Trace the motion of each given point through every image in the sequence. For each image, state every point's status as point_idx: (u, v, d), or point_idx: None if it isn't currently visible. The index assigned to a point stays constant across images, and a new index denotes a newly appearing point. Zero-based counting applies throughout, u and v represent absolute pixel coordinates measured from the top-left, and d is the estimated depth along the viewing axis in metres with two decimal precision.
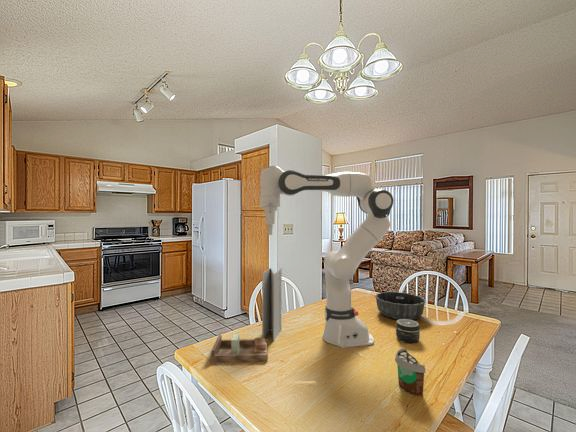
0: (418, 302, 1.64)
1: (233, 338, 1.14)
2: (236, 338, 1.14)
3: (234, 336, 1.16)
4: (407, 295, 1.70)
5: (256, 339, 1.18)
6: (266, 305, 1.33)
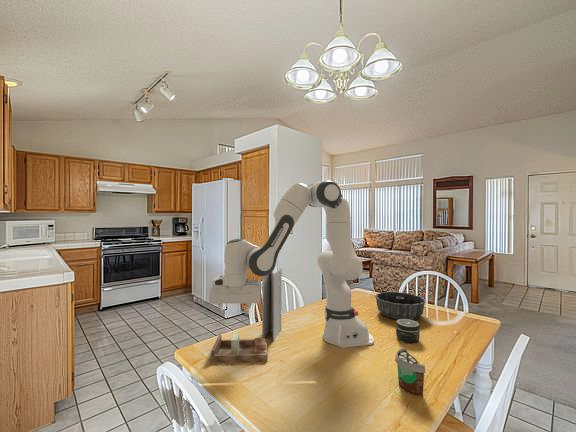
0: (418, 302, 1.64)
1: (233, 338, 1.14)
2: (236, 338, 1.14)
3: (234, 336, 1.16)
4: (407, 295, 1.70)
5: (256, 339, 1.18)
6: (266, 305, 1.33)
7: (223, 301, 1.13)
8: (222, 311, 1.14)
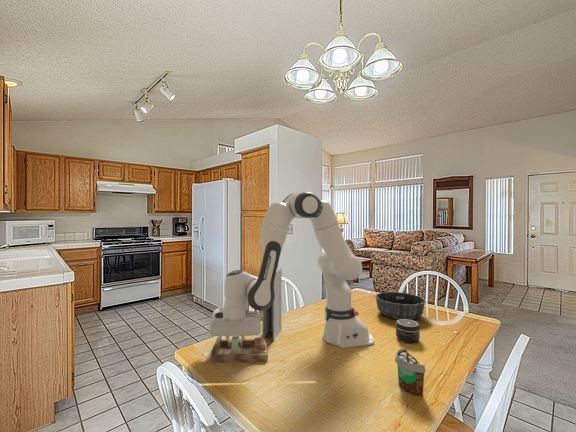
0: (418, 302, 1.64)
1: (233, 338, 1.14)
2: (236, 338, 1.14)
3: (234, 336, 1.16)
4: (407, 295, 1.70)
5: (256, 339, 1.18)
6: None
7: (223, 334, 1.13)
8: (230, 343, 1.14)
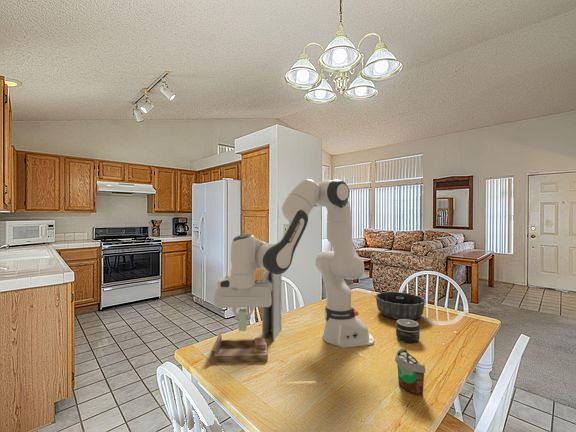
0: (418, 302, 1.64)
1: (241, 310, 1.01)
2: (244, 310, 1.01)
3: (242, 308, 1.03)
4: (407, 295, 1.70)
5: (256, 339, 1.18)
6: None
7: (230, 305, 1.00)
8: (237, 316, 1.01)
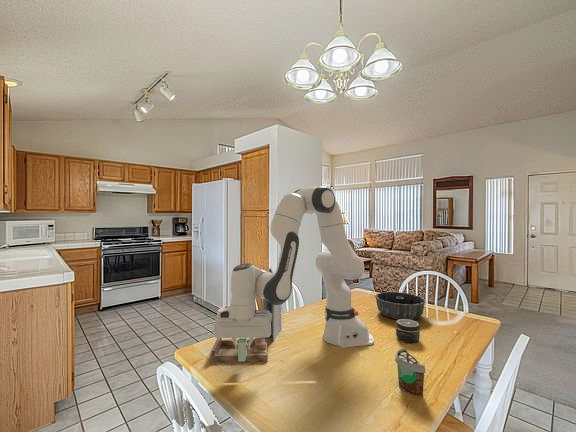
0: (418, 302, 1.64)
1: (240, 340, 1.01)
2: (244, 340, 1.01)
3: (241, 338, 1.03)
4: (407, 295, 1.70)
5: (256, 339, 1.18)
6: (266, 305, 1.33)
7: (229, 335, 1.00)
8: (236, 346, 1.01)
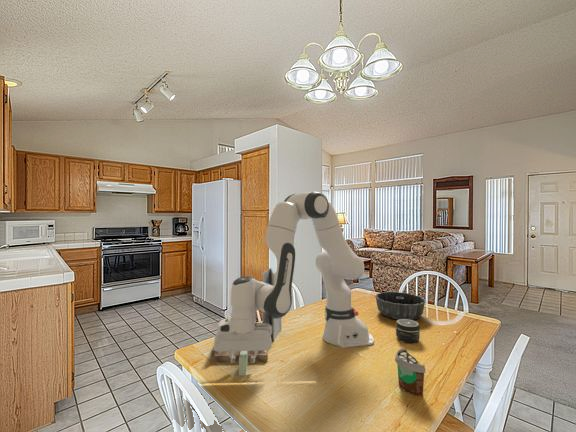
0: (418, 302, 1.64)
1: (241, 356, 1.01)
2: (244, 356, 1.01)
3: (242, 353, 1.03)
4: (407, 295, 1.70)
5: None
6: None
7: (230, 349, 1.00)
8: (232, 359, 1.01)
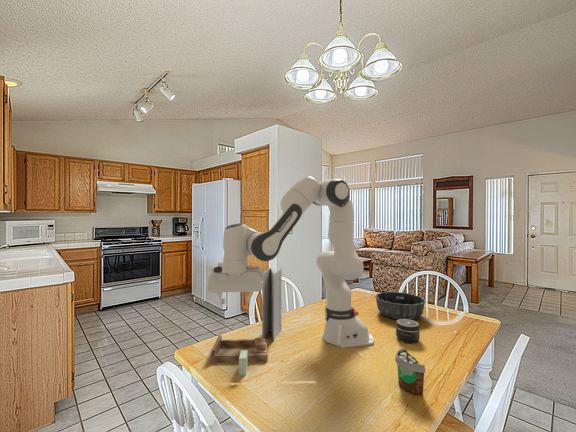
0: (418, 302, 1.64)
1: (241, 356, 1.01)
2: (244, 356, 1.01)
3: (242, 353, 1.03)
4: (407, 295, 1.70)
5: (256, 339, 1.18)
6: (266, 305, 1.33)
7: (223, 290, 1.06)
8: (222, 300, 1.07)
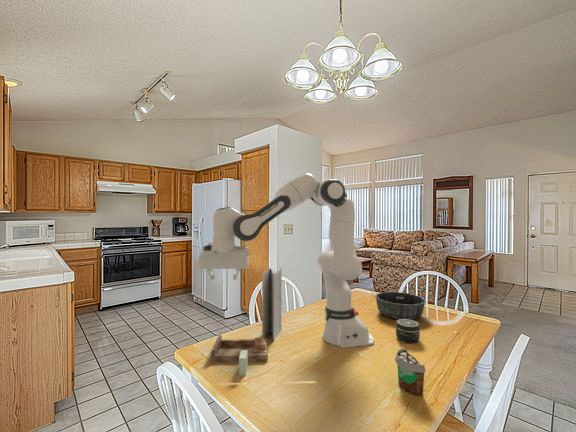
0: (418, 302, 1.64)
1: (241, 356, 1.01)
2: (244, 356, 1.01)
3: (242, 353, 1.03)
4: (407, 295, 1.70)
5: (256, 339, 1.18)
6: (266, 305, 1.33)
7: (212, 266, 1.18)
8: (211, 276, 1.19)
